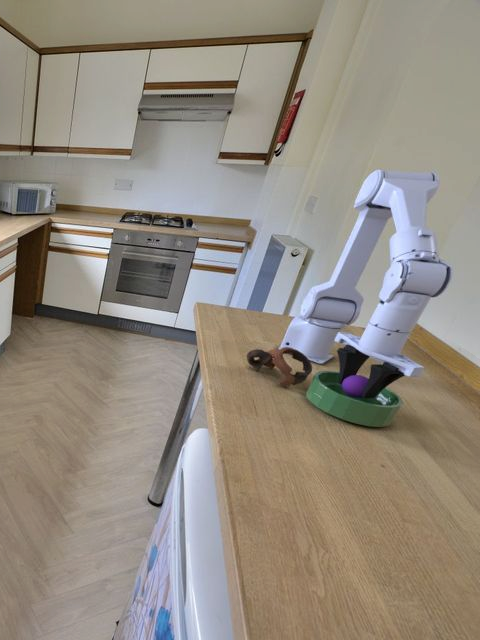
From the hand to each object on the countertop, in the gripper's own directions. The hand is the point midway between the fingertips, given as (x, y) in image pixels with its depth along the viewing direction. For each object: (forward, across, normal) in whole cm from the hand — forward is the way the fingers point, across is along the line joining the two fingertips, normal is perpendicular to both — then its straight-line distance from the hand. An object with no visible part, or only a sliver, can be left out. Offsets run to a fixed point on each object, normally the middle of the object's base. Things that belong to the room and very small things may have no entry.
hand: (355, 390), depth 80 cm
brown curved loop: (+5, +13, +6) cm, 15 cm away
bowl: (+4, 0, 0) cm, 4 cm away
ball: (-1, 0, 0) cm, 1 cm away
